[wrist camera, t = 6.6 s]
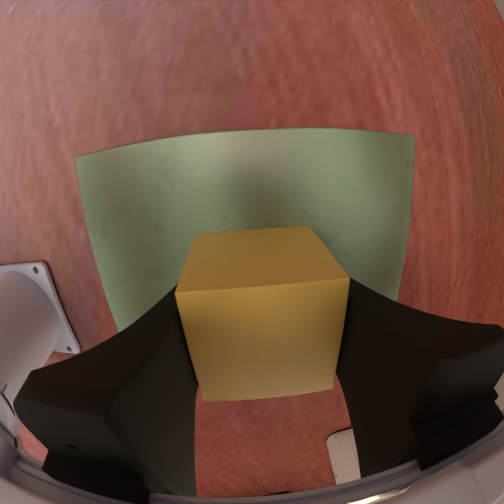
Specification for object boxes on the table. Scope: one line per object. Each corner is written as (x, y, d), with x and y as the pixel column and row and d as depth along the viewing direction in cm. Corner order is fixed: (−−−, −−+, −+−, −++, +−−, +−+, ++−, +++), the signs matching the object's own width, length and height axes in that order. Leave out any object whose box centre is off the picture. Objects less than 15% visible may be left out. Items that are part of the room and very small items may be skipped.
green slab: (154, 332, 18) (138, 379, 14) (115, 149, 13) (74, 157, 9) (356, 315, 18) (381, 358, 14) (369, 133, 14) (415, 135, 9)
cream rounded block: (323, 447, 26) (344, 533, 15) (326, 431, 25) (352, 528, 13) (399, 425, 26) (431, 499, 15) (409, 407, 25) (448, 488, 13)
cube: (210, 325, 12) (203, 401, 8) (195, 233, 11) (173, 292, 7) (306, 317, 13) (332, 389, 8) (309, 225, 11) (351, 277, 7)
